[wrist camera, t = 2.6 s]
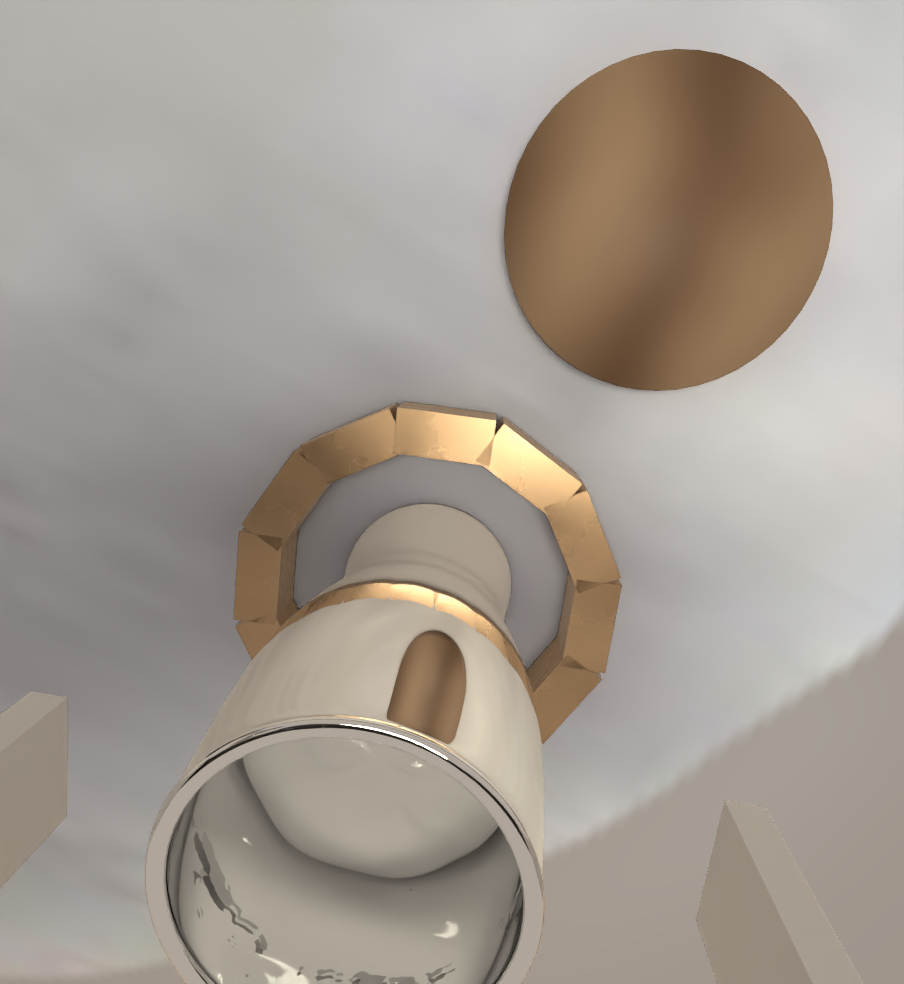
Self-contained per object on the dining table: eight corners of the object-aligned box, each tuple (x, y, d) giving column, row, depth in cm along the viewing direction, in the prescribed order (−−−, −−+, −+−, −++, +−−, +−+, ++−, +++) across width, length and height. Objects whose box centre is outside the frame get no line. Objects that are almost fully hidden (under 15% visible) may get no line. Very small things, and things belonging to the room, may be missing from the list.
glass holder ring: (245, 714, 28) (226, 743, 26) (267, 383, 25) (247, 387, 23) (574, 763, 27) (581, 797, 25) (637, 432, 24) (649, 441, 22)
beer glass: (307, 622, 27) (75, 974, 12) (380, 458, 25) (217, 634, 10) (473, 698, 27) (445, 1134, 12) (556, 540, 25) (638, 825, 11)
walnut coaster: (484, 367, 24) (484, 369, 23) (528, 44, 22) (530, 30, 21) (778, 406, 24) (790, 409, 23) (853, 82, 21) (870, 70, 21)
